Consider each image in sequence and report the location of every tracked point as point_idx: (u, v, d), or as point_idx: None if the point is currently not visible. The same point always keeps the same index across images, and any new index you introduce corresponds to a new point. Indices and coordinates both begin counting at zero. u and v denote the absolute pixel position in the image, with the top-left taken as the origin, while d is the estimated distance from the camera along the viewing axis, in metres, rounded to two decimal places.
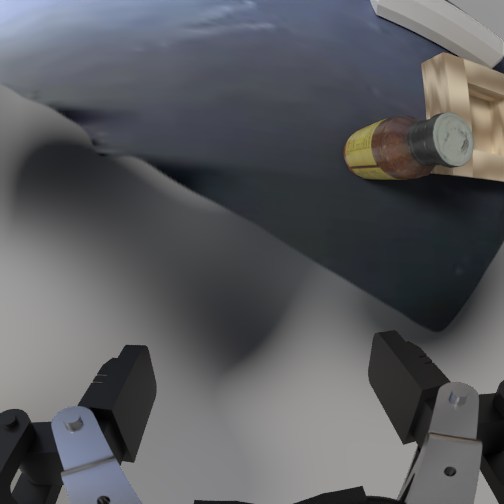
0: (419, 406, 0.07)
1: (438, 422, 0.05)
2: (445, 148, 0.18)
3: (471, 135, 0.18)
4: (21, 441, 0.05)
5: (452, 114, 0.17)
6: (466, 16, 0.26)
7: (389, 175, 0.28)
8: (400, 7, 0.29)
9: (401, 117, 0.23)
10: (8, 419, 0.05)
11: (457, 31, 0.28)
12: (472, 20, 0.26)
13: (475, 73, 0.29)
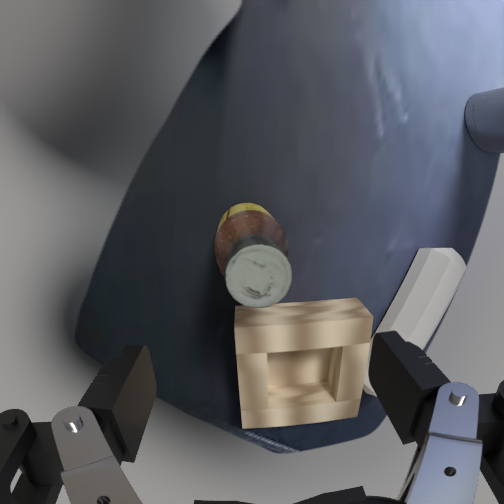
0: (419, 406, 0.07)
1: (438, 422, 0.05)
2: (244, 262, 0.18)
3: (268, 304, 0.19)
4: (21, 441, 0.05)
5: (289, 274, 0.19)
6: None
7: (217, 232, 0.27)
8: (428, 273, 0.36)
9: (282, 234, 0.24)
10: (8, 419, 0.05)
11: (402, 336, 0.37)
12: None
13: (355, 357, 0.36)
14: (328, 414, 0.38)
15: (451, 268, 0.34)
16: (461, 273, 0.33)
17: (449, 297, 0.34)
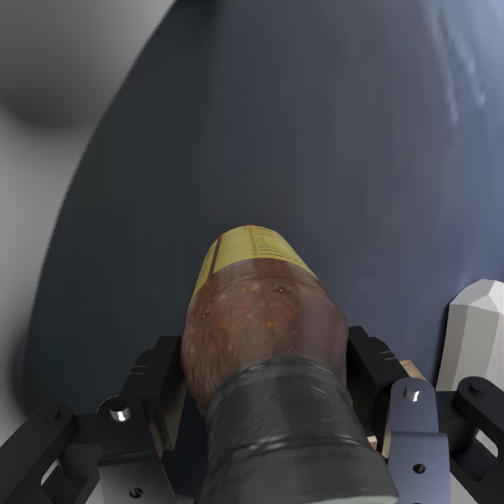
0: (375, 400, 0.08)
1: (396, 420, 0.06)
2: None
3: None
4: (65, 434, 0.06)
5: None
6: None
7: (190, 307, 0.12)
8: (473, 339, 0.21)
9: (346, 333, 0.09)
10: (50, 412, 0.06)
11: None
12: None
13: None
14: None
15: (503, 325, 0.19)
16: None
17: None
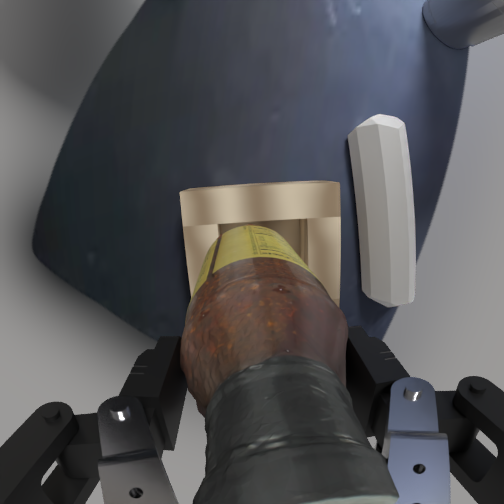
0: (375, 400, 0.08)
1: (396, 420, 0.06)
2: None
3: None
4: (65, 434, 0.06)
5: None
6: (406, 233, 0.32)
7: (190, 306, 0.12)
8: (367, 152, 0.33)
9: (345, 333, 0.09)
10: (50, 412, 0.06)
11: (382, 231, 0.34)
12: (407, 243, 0.32)
13: (324, 235, 0.32)
14: None
15: (384, 133, 0.30)
16: (397, 131, 0.29)
17: (401, 162, 0.30)
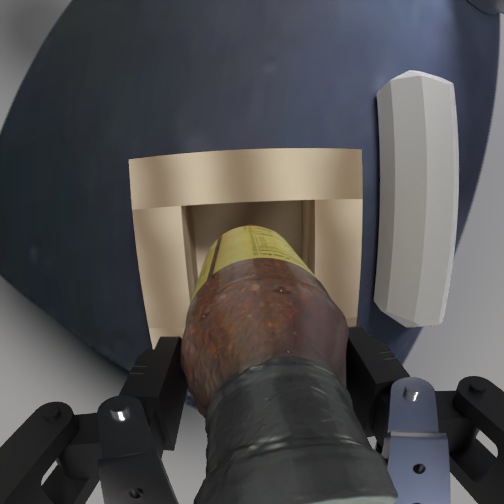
0: (375, 400, 0.08)
1: (396, 419, 0.06)
2: None
3: None
4: (66, 434, 0.06)
5: None
6: (449, 227, 0.21)
7: (190, 307, 0.12)
8: (403, 112, 0.22)
9: (346, 334, 0.09)
10: (50, 412, 0.06)
11: (415, 220, 0.23)
12: (448, 241, 0.22)
13: (339, 226, 0.22)
14: None
15: (429, 88, 0.20)
16: (447, 87, 0.19)
17: (450, 128, 0.19)
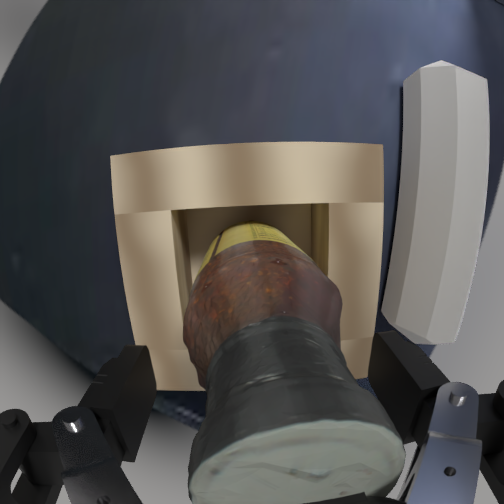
0: (419, 406, 0.07)
1: (438, 422, 0.05)
2: (255, 473, 0.04)
3: None
4: (21, 441, 0.05)
5: (396, 475, 0.04)
6: (476, 234, 0.18)
7: (193, 287, 0.13)
8: (433, 103, 0.19)
9: (340, 304, 0.10)
10: (9, 419, 0.05)
11: (438, 224, 0.20)
12: (473, 250, 0.18)
13: (356, 234, 0.18)
14: None
15: (463, 79, 0.16)
16: (482, 81, 0.15)
17: (484, 125, 0.16)
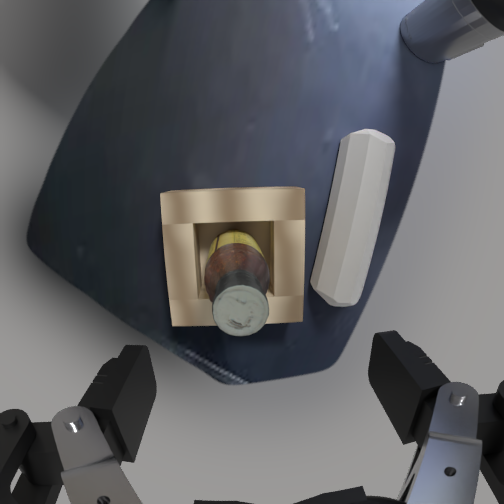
0: (419, 406, 0.07)
1: (438, 422, 0.05)
2: (228, 299, 0.22)
3: (248, 333, 0.22)
4: (21, 441, 0.05)
5: (266, 309, 0.22)
6: (366, 236, 0.36)
7: (207, 262, 0.31)
8: (352, 156, 0.37)
9: (264, 268, 0.28)
10: (8, 419, 0.05)
11: (344, 228, 0.38)
12: (363, 246, 0.36)
13: (289, 236, 0.36)
14: None
15: (373, 143, 0.34)
16: (385, 145, 0.33)
17: (380, 172, 0.34)
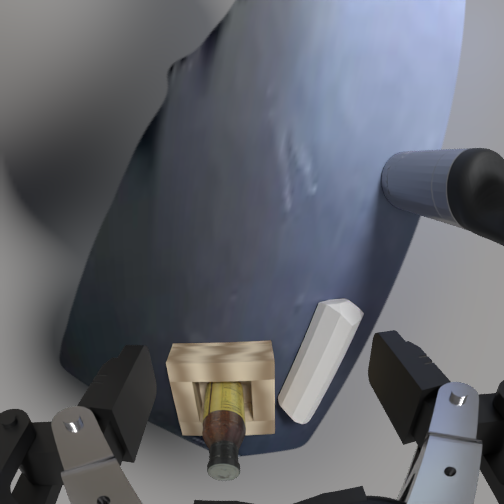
0: (419, 406, 0.07)
1: (438, 422, 0.05)
2: (216, 468, 0.32)
3: (228, 479, 0.33)
4: (21, 441, 0.05)
5: (238, 472, 0.32)
6: (321, 387, 0.46)
7: (203, 420, 0.41)
8: (323, 325, 0.46)
9: (240, 433, 0.38)
10: (8, 419, 0.05)
11: (306, 376, 0.47)
12: (318, 392, 0.46)
13: (263, 389, 0.46)
14: (249, 430, 0.48)
15: (341, 322, 0.44)
16: (350, 327, 0.43)
17: (341, 346, 0.44)
